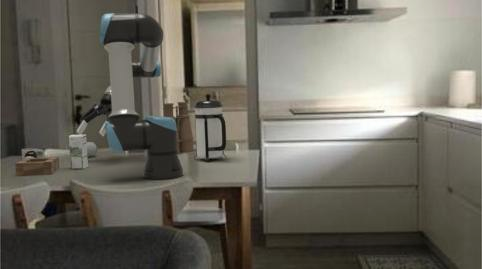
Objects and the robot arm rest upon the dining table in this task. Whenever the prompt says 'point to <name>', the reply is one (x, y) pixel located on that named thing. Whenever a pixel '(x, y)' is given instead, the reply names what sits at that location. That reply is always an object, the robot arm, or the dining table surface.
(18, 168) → the holder block
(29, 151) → the mug
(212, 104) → the coffee press
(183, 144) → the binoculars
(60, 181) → the dining table surface
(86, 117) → the robot arm
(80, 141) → the syrup box
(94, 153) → the grey cylinder
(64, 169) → the dining table surface
